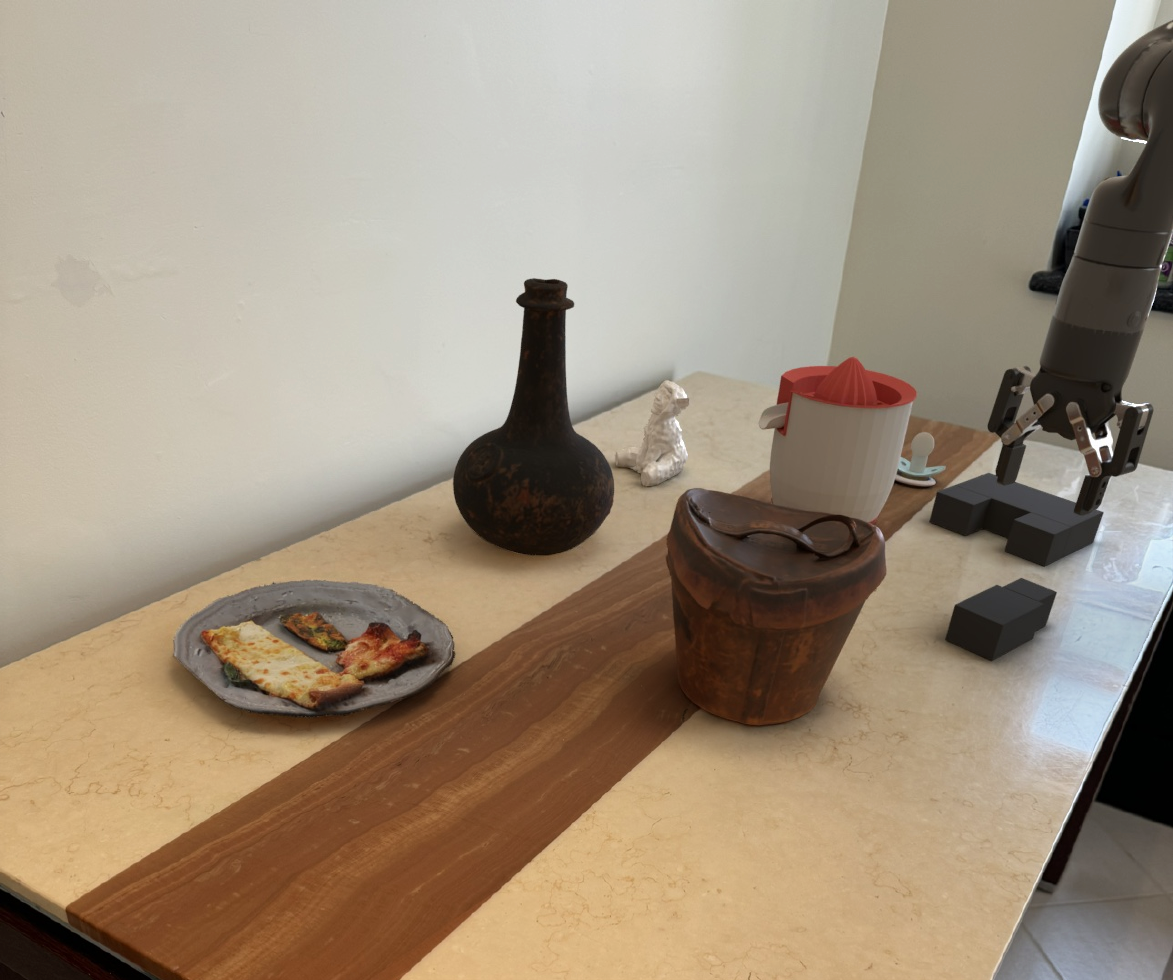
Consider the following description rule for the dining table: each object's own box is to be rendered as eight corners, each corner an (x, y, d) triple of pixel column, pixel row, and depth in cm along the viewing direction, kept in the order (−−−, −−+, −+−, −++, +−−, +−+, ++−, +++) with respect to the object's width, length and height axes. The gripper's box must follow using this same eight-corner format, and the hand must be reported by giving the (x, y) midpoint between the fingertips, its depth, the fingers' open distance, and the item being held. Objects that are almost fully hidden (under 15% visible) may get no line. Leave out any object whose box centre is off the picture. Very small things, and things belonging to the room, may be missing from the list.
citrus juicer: (735, 497, 142) (758, 335, 130) (868, 502, 143) (902, 342, 132) (755, 547, 129) (782, 372, 118) (900, 552, 130) (941, 379, 119)
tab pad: (1051, 628, 117) (1063, 594, 114) (992, 661, 110) (1003, 625, 108) (1005, 609, 120) (1015, 575, 117) (944, 639, 113) (954, 604, 111)
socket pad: (1093, 542, 136) (1104, 512, 134) (1044, 566, 130) (1054, 534, 127) (980, 501, 146) (988, 472, 143) (929, 521, 139) (936, 491, 137)
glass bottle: (425, 528, 128) (418, 268, 112) (550, 500, 138) (559, 256, 121) (512, 587, 117) (518, 307, 101) (641, 552, 127) (665, 291, 110)
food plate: (502, 677, 102) (502, 643, 100) (278, 766, 88) (273, 730, 86) (351, 581, 116) (348, 549, 114) (138, 645, 103) (131, 611, 101)
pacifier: (932, 493, 148) (944, 479, 152) (943, 448, 144) (956, 434, 148) (880, 481, 150) (893, 467, 155) (889, 436, 147) (903, 423, 151)
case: (898, 713, 101) (947, 528, 90) (719, 766, 92) (750, 567, 82) (779, 628, 113) (809, 456, 103) (611, 668, 104) (626, 485, 94)
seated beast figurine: (610, 463, 150) (616, 373, 143) (664, 456, 153) (673, 367, 146) (645, 488, 143) (654, 394, 136) (701, 480, 146) (712, 388, 139)
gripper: (1200, 332, 92) (1132, 517, 102) (1054, 295, 101) (1004, 467, 111) (1151, 341, 88) (1085, 532, 98) (1003, 302, 97) (957, 480, 107)
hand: (1042, 497), depth 104 cm, fingers open, 8 cm apart
